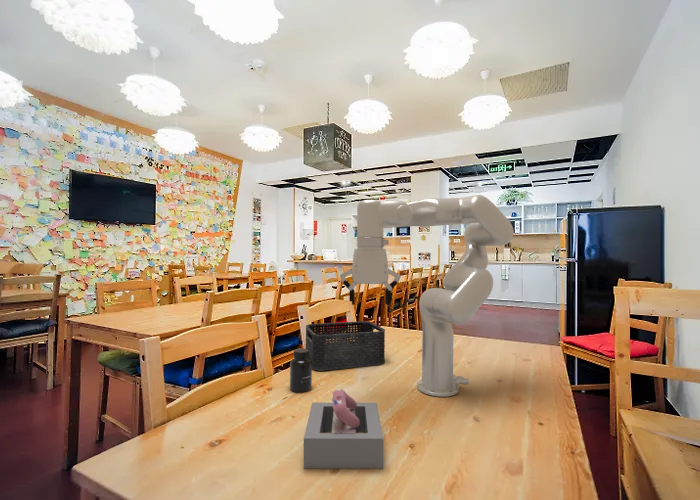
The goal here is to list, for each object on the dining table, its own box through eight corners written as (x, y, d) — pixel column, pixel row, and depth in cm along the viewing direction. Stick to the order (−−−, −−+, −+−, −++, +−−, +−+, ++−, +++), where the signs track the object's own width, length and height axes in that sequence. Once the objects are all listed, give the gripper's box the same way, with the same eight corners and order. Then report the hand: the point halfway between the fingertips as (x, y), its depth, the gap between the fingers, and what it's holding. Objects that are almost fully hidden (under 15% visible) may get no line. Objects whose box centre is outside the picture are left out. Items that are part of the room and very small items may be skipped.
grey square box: (376, 426, 85) (376, 402, 85) (383, 468, 69) (383, 438, 69) (312, 426, 85) (312, 402, 85) (303, 468, 69) (303, 438, 69)
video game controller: (341, 414, 82) (328, 388, 82) (358, 405, 82) (345, 379, 82) (342, 436, 72) (327, 407, 72) (361, 426, 72) (347, 397, 72)
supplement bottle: (307, 394, 103) (307, 354, 103) (286, 392, 105) (286, 353, 105) (314, 385, 110) (314, 348, 110) (294, 383, 112) (294, 346, 112)
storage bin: (368, 350, 148) (369, 319, 148) (387, 365, 130) (388, 329, 130) (303, 357, 139) (303, 324, 139) (314, 373, 121) (314, 335, 121)
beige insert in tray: (354, 411, 83) (354, 405, 83) (355, 441, 70) (355, 434, 70) (334, 411, 83) (334, 405, 83) (331, 441, 70) (331, 434, 70)
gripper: (398, 244, 101) (398, 302, 101) (340, 244, 101) (340, 301, 101) (402, 244, 94) (402, 306, 94) (339, 243, 94) (339, 306, 94)
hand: (370, 304), depth 97 cm, fingers open, 9 cm apart
